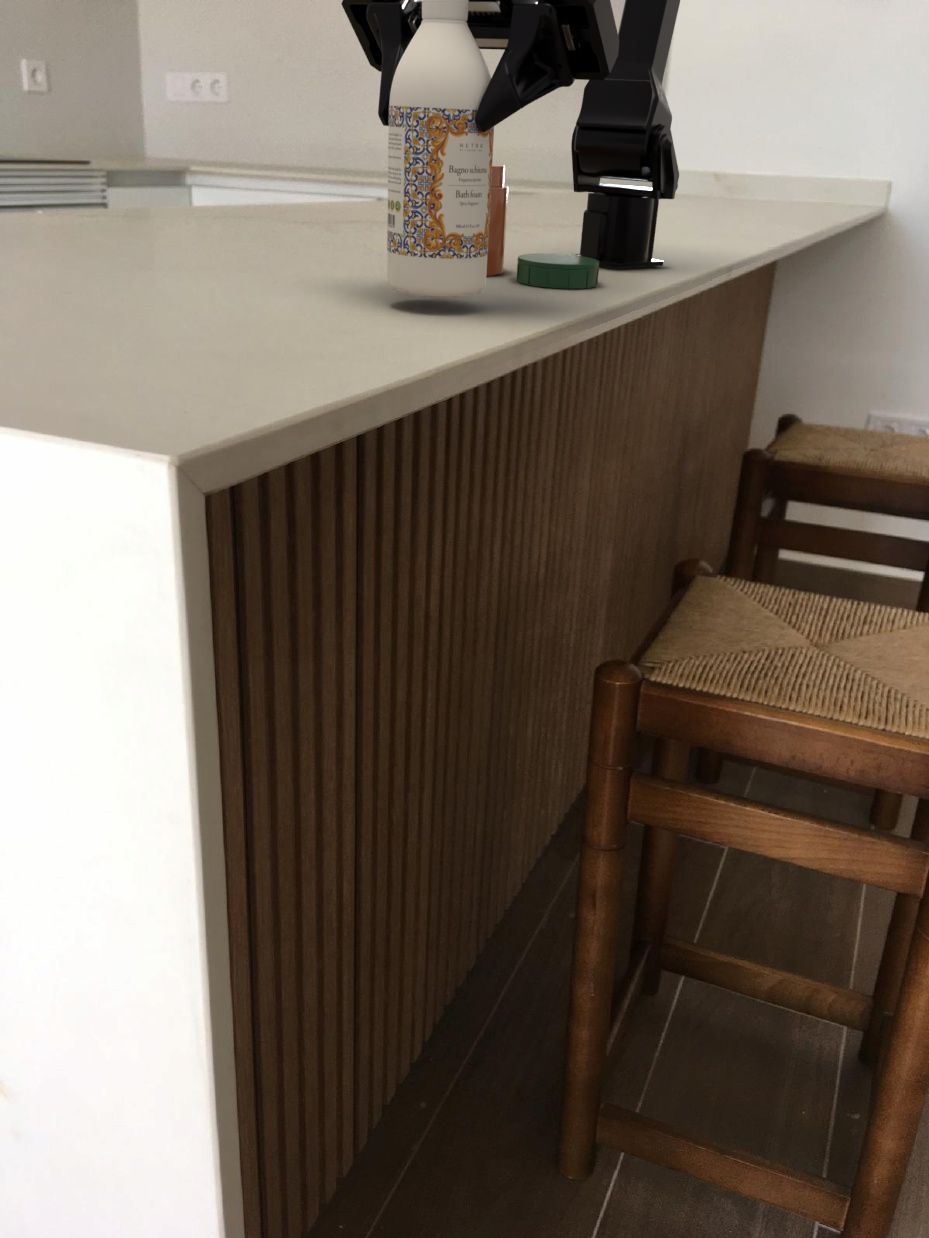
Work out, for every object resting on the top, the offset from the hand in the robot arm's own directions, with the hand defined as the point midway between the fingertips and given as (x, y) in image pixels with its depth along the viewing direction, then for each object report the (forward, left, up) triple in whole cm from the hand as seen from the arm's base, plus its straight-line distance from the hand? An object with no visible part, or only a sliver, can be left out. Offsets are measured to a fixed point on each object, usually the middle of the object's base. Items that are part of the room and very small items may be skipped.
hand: (429, 123), depth 69 cm
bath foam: (-1, -1, -11) cm, 11 cm away
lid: (-18, -8, -10) cm, 22 cm away
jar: (-14, -16, -12) cm, 24 cm away
